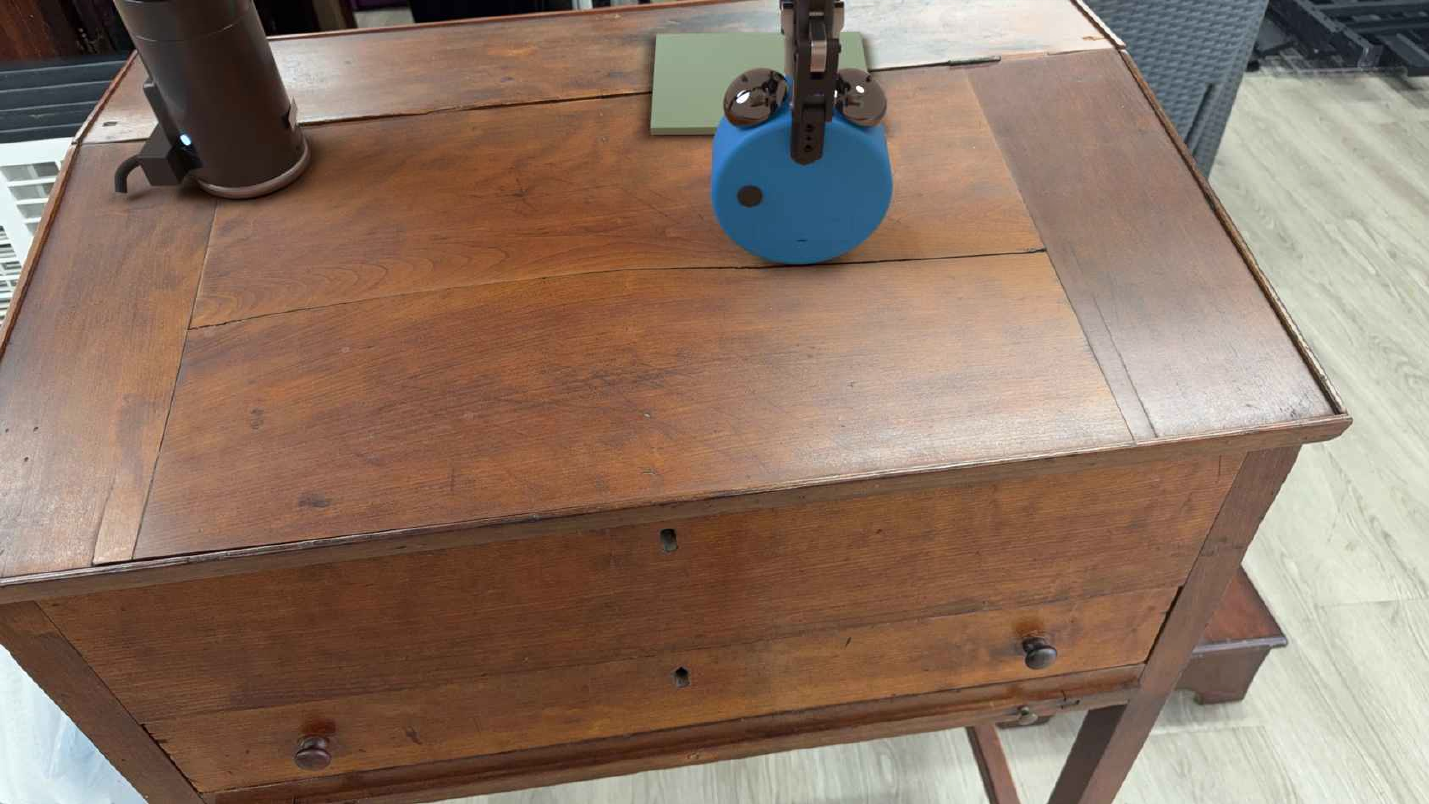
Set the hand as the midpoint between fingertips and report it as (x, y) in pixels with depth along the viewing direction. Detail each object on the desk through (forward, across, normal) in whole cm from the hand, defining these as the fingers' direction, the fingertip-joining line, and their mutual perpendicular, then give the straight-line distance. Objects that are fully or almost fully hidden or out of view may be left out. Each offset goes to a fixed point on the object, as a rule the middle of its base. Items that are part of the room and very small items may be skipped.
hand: (803, 128), depth 73 cm
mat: (+11, -23, -2) cm, 25 cm away
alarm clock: (+11, 0, 0) cm, 11 cm away
